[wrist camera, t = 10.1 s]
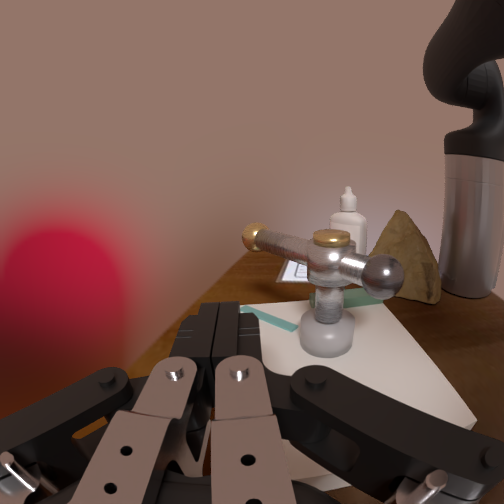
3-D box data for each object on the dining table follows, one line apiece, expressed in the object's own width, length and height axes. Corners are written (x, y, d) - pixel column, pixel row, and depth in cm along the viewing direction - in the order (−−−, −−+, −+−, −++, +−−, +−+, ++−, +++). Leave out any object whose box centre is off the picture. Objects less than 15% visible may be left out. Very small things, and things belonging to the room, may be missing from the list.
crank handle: (401, 334, 16) (416, 245, 14) (376, 357, 14) (392, 258, 12) (264, 273, 28) (261, 213, 26) (237, 281, 26) (231, 218, 24)
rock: (464, 283, 26) (421, 249, 35) (451, 232, 23) (400, 203, 32) (399, 341, 28) (365, 296, 37) (374, 301, 25) (337, 256, 34)
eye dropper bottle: (343, 275, 37) (345, 189, 34) (325, 263, 43) (325, 185, 39) (368, 271, 38) (372, 188, 35) (348, 259, 44) (350, 185, 40)
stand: (370, 314, 27) (375, 271, 26) (460, 443, 10) (494, 391, 9) (237, 327, 27) (233, 282, 26) (232, 499, 10) (218, 461, 8)
